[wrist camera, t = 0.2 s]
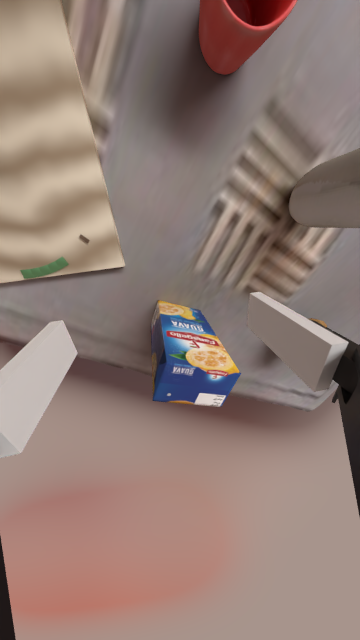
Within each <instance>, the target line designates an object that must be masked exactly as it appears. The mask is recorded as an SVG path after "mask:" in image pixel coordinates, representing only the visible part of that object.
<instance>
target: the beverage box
mask: <svg viewBox="0 0 360 640" xmlns="http://www.w3.org/2000/svg"><path fill="white" fill-rule="evenodd" d="M151 344H152V377H153V401H161V402H173V403H183V404H195V405H206V406H218V407H221V406H222V405H223V403H224V401H225V400H226V398H227V396H228V395H229V393H230V391H231V390H232V388H233V386H234V384H235V383H236V381H237V379H238V378H239V376H240V374H241V373H240V372H239V370H238V369H237V367H236V366H235V364H234V363H233V361H232V359H231V358H230V356H229V355H228V353H227V352H226V350H225V348H224V347H223V345H222V344H221V342H220V341H219V339H218V337H217V336H216V334H215V333H214V331H213V330H212V328H211V327H210V325H209V323H208V322H207V320H206V319H205V317H204V316H203V314H202V312H201V311H200V310H196V309H192V308H188V307H184V306H180V305H176V304H172V303H168V302H164V301H160V300H158V303H157V306H156V310H155V313H154V316H153V320H152V323H151Z"/></svg>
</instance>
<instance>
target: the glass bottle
mask: <svg viewBox="0 0 360 640" xmlns="http://www.w3.org/2000/svg"><path fill="white" fill-rule="evenodd" d="M289 212H290V214H291V216H292V217H293V219H294V220H295V221H296V222H298V223H299V224H301V225H304V226H308V227H320V228H360V148H359V149H357V150H354V151H352V152H349V153H347V154H344V155H341V156H339V157H336V158H334V159H331V160H329V161H326V162H324V163H322V164H320V165H318V166H316V167H315V168H313V169H312V170H310V171H309V172H308V173H307V174H305V175H304V176H303V177H302V178H301V179H300V180H299V181H298V183H297V184H296V185H295V187H294V189H293V191H292V194H291V197H290V201H289Z"/></svg>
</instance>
